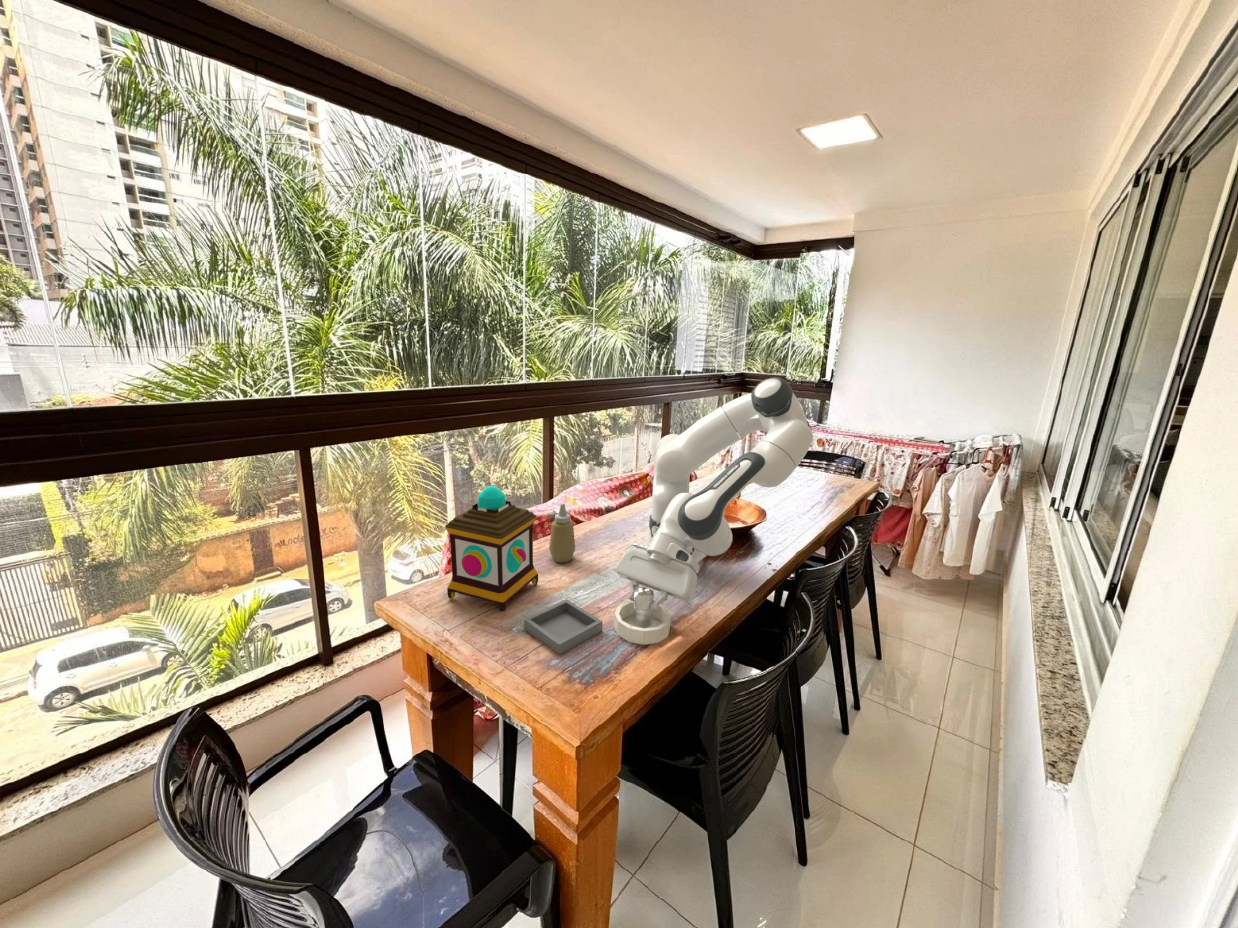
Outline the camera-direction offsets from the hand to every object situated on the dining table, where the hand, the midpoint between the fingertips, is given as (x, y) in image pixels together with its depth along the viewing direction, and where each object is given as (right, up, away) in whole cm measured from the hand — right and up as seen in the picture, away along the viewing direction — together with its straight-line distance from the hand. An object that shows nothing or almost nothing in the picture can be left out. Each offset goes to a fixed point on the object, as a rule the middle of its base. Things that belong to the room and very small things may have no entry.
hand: (642, 604), depth 117 cm
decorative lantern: (-39, -1, +17) cm, 43 cm away
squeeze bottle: (-23, +4, +37) cm, 44 cm away
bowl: (0, -7, +2) cm, 7 cm away
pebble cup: (0, -5, +2) cm, 5 cm away
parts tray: (-19, -7, 0) cm, 20 cm away
